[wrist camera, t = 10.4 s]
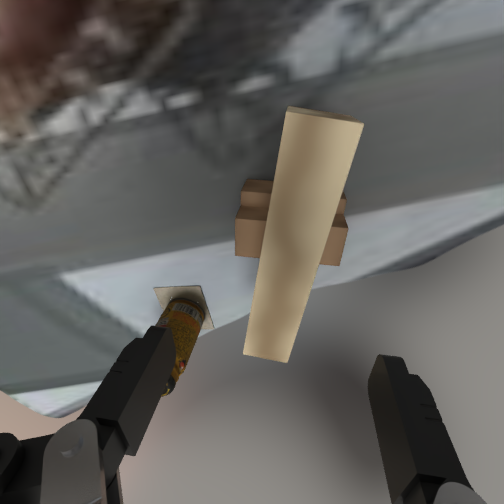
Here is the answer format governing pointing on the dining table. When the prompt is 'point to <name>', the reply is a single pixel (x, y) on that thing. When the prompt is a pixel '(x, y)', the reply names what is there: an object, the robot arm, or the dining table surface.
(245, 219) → the stair steps
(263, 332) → the batten
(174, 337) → the condiment
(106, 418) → the robot arm
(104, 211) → the dining table surface
